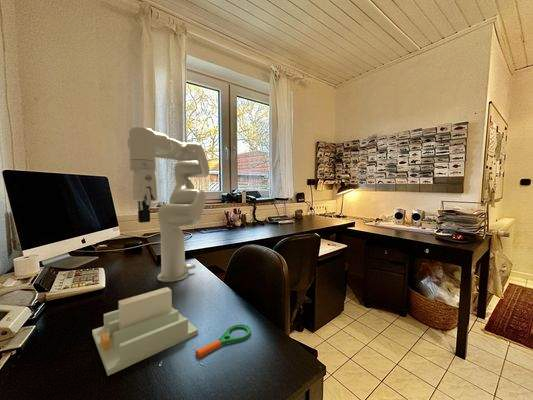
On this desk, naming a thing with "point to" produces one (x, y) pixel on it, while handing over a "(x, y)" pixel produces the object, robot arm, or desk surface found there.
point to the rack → (139, 338)
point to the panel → (144, 307)
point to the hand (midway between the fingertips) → (144, 221)
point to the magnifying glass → (224, 340)
